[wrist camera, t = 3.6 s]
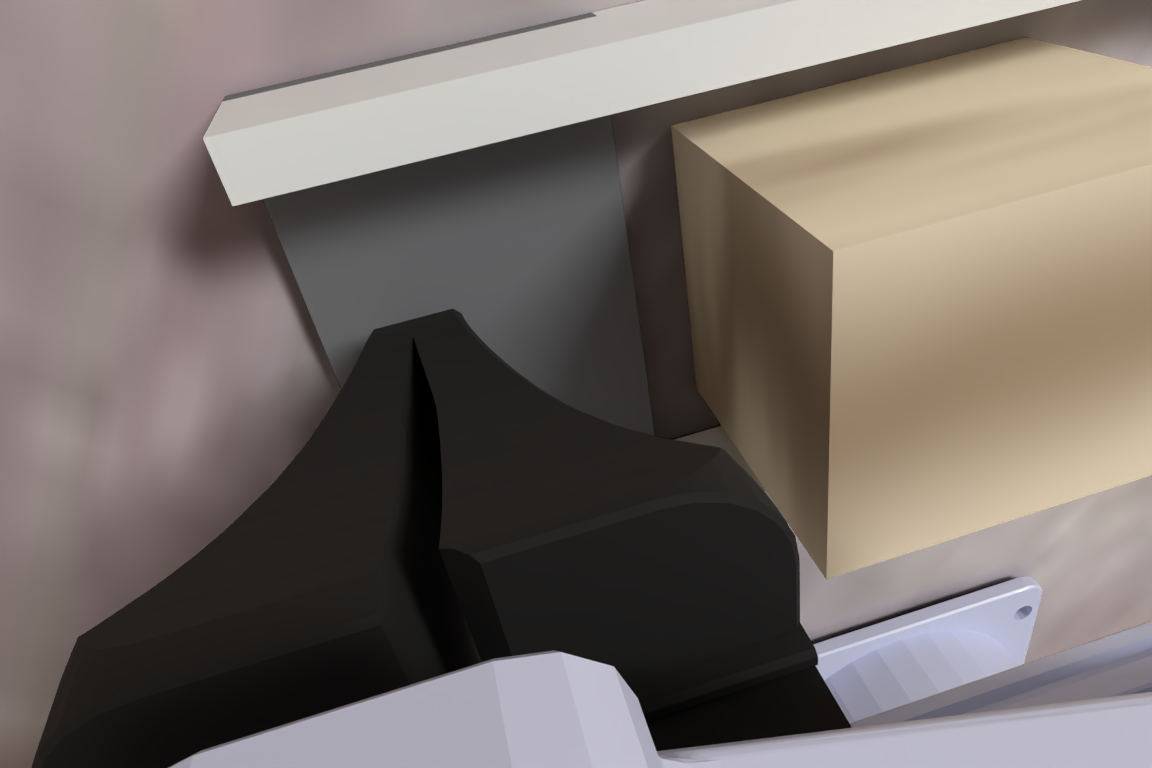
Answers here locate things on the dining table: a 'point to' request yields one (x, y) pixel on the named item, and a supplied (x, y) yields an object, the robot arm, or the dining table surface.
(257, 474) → the dining table surface
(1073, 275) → the maple block
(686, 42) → the white u-shaped piece
